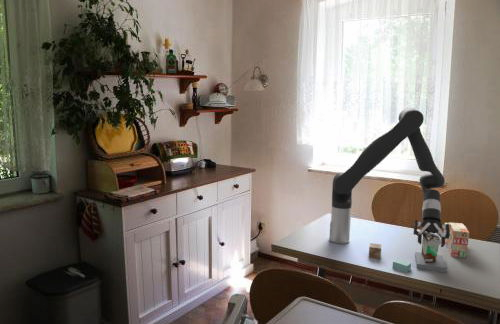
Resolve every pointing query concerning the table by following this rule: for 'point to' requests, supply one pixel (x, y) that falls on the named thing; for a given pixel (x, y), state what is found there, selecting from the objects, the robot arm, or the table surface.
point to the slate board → (435, 266)
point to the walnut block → (375, 251)
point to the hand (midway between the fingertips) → (431, 245)
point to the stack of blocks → (457, 240)
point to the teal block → (401, 265)
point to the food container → (430, 247)
